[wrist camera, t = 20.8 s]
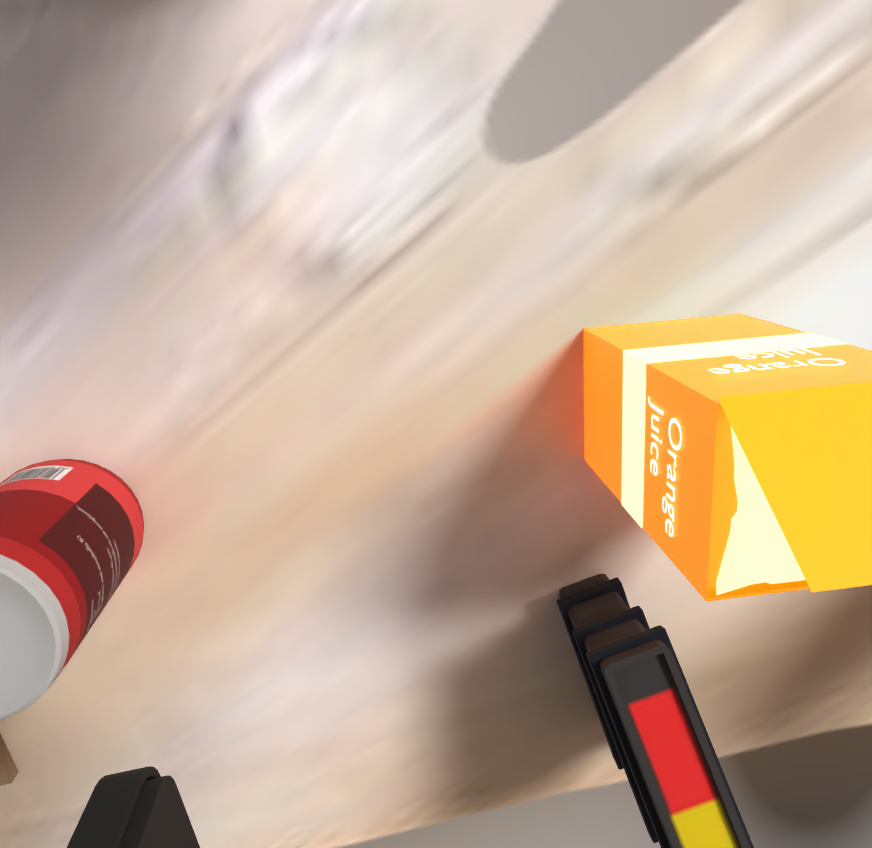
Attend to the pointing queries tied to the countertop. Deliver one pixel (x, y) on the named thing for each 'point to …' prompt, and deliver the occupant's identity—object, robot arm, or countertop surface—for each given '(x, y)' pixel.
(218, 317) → the countertop surface
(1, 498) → the canned food
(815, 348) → the orange juice
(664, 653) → the black layered block
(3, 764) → the batten
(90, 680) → the countertop surface
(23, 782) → the countertop surface
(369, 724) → the countertop surface
